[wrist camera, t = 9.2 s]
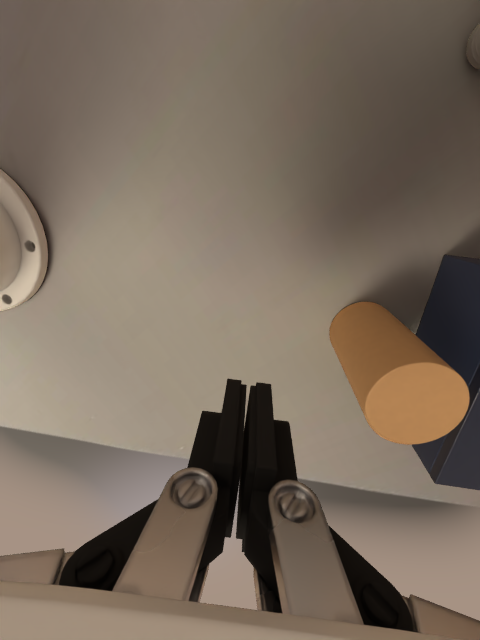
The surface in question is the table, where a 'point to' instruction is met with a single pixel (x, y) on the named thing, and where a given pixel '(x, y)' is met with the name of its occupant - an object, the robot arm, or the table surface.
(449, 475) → the navy box
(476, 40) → the lightbulb
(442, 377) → the orange-brown cylinder
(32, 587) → the robot arm
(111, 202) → the table surface
